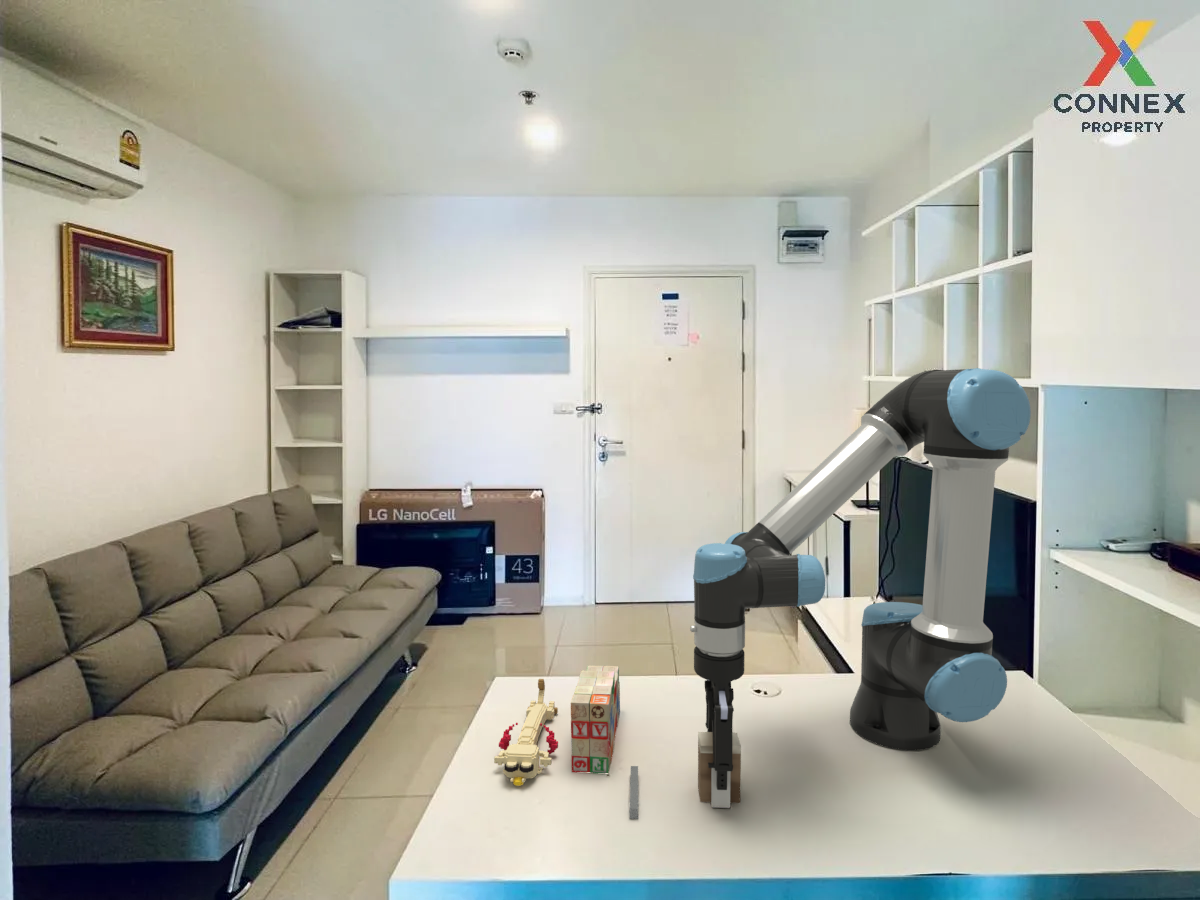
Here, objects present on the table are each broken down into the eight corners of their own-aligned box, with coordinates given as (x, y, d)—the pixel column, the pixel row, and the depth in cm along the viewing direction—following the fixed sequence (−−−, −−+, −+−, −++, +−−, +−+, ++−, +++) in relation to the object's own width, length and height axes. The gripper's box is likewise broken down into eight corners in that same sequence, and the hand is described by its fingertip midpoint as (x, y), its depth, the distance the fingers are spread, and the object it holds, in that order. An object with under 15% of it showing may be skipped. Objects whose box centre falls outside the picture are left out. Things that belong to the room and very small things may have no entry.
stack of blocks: (588, 710, 132) (587, 649, 131) (620, 712, 131) (619, 650, 130) (571, 773, 111) (570, 701, 110) (609, 775, 110) (608, 703, 109)
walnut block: (736, 787, 106) (737, 732, 105) (740, 803, 102) (740, 746, 102) (697, 786, 107) (698, 731, 106) (700, 802, 103) (700, 745, 102)
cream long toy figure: (517, 720, 131) (485, 786, 106) (517, 675, 131) (485, 731, 106) (568, 721, 130) (548, 788, 106) (568, 676, 130) (548, 733, 105)
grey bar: (638, 775, 110) (638, 766, 110) (638, 819, 99) (637, 808, 99) (630, 775, 110) (630, 765, 110) (629, 818, 99) (629, 808, 99)
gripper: (689, 625, 112) (689, 758, 114) (699, 674, 93) (698, 832, 95) (735, 625, 111) (734, 759, 114) (754, 674, 93) (753, 834, 95)
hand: (718, 792), depth 105 cm, fingers open, 6 cm apart
